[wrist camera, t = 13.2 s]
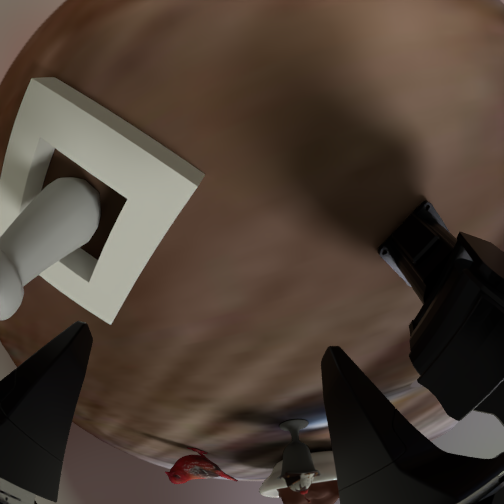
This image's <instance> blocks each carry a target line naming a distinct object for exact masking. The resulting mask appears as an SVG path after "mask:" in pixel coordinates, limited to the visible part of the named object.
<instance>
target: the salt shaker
mask: <svg viewBox="0 0 504 504" xmlns="http://www.w3.org/2000/svg"><path fill="white" fill-rule="evenodd" d="M100 216H101V206H100V194H99V192H98V191H97V190H96V189H95V188H94V187H92V186H91V185H90V184H89V183H88V182H87V181H86V180H85V179H80V178H74V177H67V178H58V179H56V180H54V181H53V182H51V183H50V184H49V185H47V186H46V187H45V188H44V189H43V190H42V191H41V192H40V193H39V194H38V195H37V196H36V197H35V198H34V199H33V200H32V201H31V202H30V204H29V205H28V206H27V207H26V208H25V209H24V210H23V211H22V212H21V213H20V215H19V216H18V217H17V218H16V219H15V220H14V221H13V223H12V224H11V225H10V226H9V227H8V229H7V230H6V231H5V232H4V233H3V235H2V236H1V237H0V320H5V319H8V318H9V317H11V316H12V315H13V314H14V313H15V312H16V310H17V309H18V308H19V306H20V304H21V301H22V298H23V295H24V290H23V286H25V285H26V284H27V283H28V282H30V281H31V280H32V279H34V278H35V277H36V276H38V275H39V274H40V273H42V272H43V271H44V270H46V269H47V268H48V267H50V266H51V265H53V264H54V263H56V262H57V261H59V260H60V259H62V258H63V257H65V256H67V255H68V254H70V253H71V252H73V251H74V250H76V249H78V248H79V247H81V246H82V245H84V244H86V243H87V242H89V241H90V239H91V237H92V236H93V234H94V233H95V231H96V229H97V228H98V224H99V220H100Z"/></svg>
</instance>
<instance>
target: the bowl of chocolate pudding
mask: <svg viewBox="0 0 504 504" xmlns="http://www.w3.org/2000/svg"><path fill="white" fill-rule="evenodd" d="M311 457H312V461H313V464H314V467H315V470H318V471H319V472H320V476H316V477H314V478H313V481H312V483H311V485H310V486H309V488H308V489H309V490H308V492H307V493H306V494H305V497H306V499H308V500H310V501H311V502H310V503H308V501H307V500H306V499H305V498H304V495H303V494H301V493H300V492H296V491H293V490H292V489H290V488H289V487H287V485H286V483H285V482H284V481H283V480H282V479H277V478H278V477H279V476H280V475H281V471H282V462H283V460H282V461H280V462H278V463H277V464H276V465H275V467H274V468H273V470H272V473H271V475H270V476H269V477H268V478H267V479H266V480H265V481H264V482H263V483H262V485H261V487H260V491H259V492H260V494H261V495H263V496H267V497H278V498H281V499H282V501H283V504H334V503H335V502H336V501H337V499H338V498H339V490H338V483H337V476H336V470H335V463H334V457H333V451H321V452H313V453H311Z"/></svg>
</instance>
